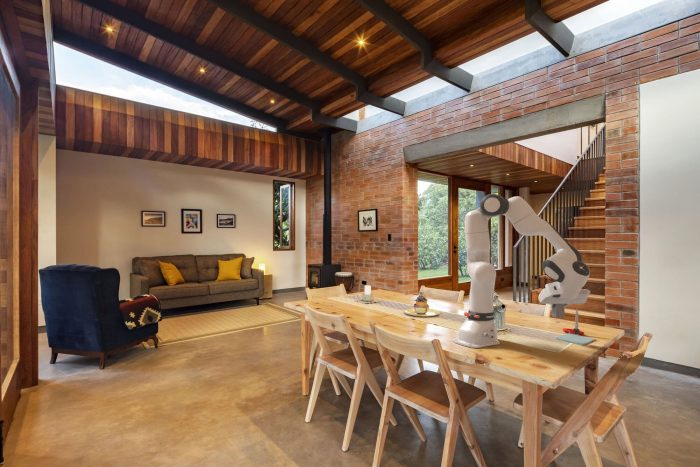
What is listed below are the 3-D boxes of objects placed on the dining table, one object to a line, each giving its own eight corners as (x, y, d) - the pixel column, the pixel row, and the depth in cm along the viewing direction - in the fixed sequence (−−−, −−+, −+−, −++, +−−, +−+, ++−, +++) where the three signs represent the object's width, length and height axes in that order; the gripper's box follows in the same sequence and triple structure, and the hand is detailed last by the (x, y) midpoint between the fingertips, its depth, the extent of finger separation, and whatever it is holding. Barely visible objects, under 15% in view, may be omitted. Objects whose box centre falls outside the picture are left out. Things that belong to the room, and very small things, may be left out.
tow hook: (559, 329, 185) (568, 333, 176) (560, 305, 186) (568, 308, 176) (576, 331, 184) (586, 335, 174) (577, 307, 184) (586, 309, 175)
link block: (564, 317, 164) (564, 299, 164) (555, 317, 165) (555, 299, 165) (560, 315, 168) (560, 297, 168) (551, 315, 168) (551, 297, 168)
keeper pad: (583, 345, 160) (583, 344, 160) (556, 338, 169) (555, 337, 169) (595, 340, 167) (595, 339, 167) (568, 334, 177) (568, 333, 177)
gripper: (588, 283, 158) (577, 300, 168) (542, 284, 160) (533, 300, 170) (595, 295, 154) (582, 312, 164) (546, 295, 156) (537, 311, 166)
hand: (557, 306), depth 167 cm, fingers closed on link block, 4 cm apart
